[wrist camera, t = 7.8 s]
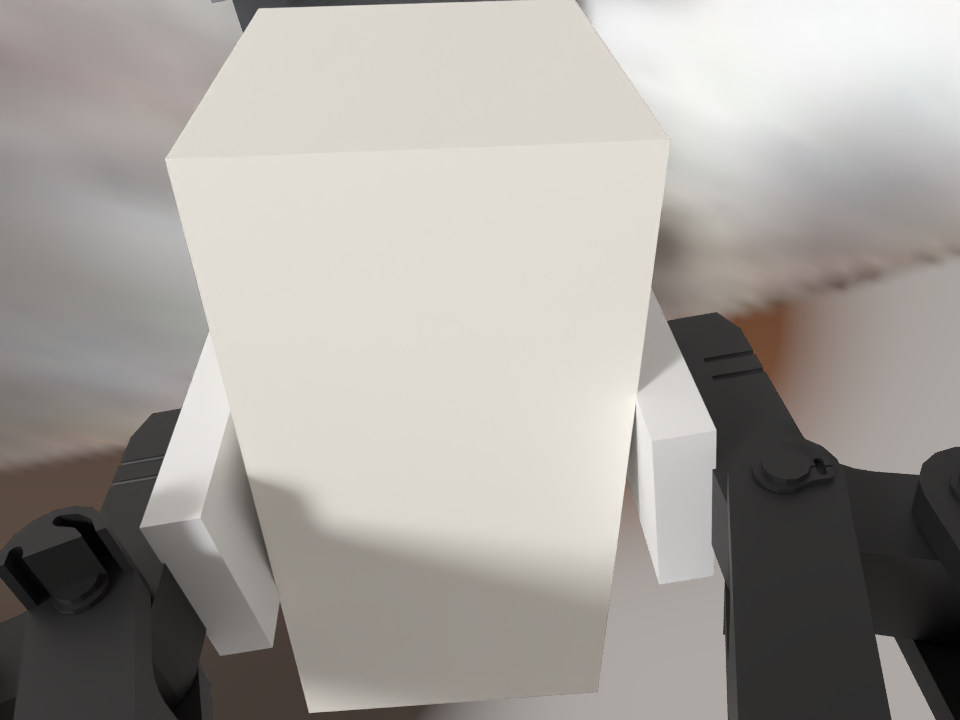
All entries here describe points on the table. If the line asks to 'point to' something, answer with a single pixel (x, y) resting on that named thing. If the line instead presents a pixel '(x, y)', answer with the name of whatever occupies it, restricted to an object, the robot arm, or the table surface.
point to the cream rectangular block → (429, 332)
